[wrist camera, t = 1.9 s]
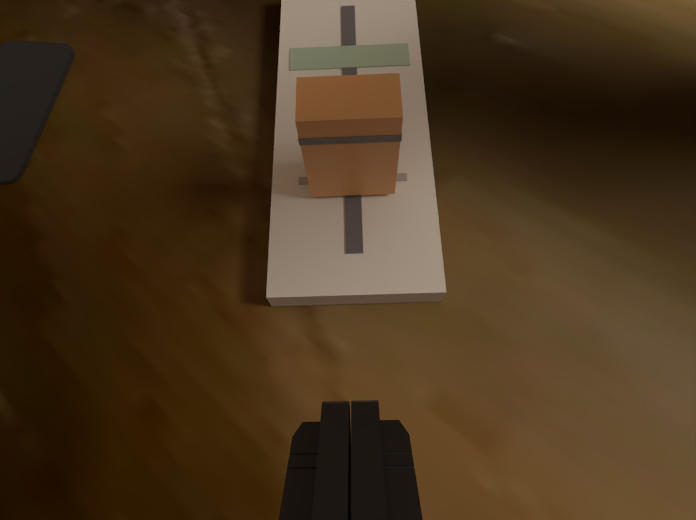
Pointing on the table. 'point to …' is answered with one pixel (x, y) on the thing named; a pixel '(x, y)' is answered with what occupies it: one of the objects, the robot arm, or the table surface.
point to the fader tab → (350, 132)
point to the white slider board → (354, 210)
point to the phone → (27, 98)
